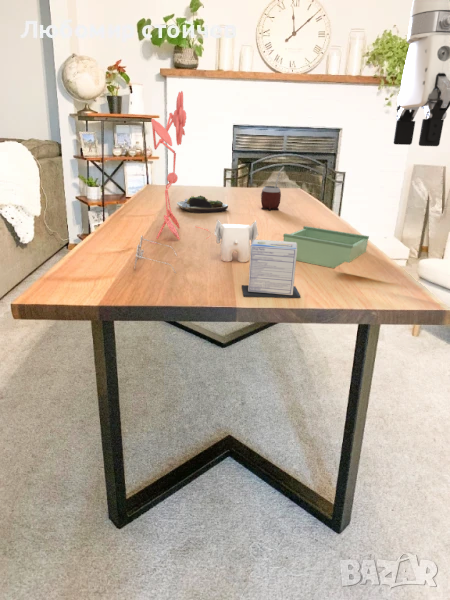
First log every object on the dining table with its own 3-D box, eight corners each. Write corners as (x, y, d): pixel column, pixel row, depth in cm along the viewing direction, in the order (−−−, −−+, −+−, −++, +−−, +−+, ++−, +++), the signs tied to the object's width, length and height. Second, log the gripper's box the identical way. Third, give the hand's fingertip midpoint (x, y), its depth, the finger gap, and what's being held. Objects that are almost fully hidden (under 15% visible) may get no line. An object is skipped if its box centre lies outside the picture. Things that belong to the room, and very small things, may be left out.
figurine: (148, 247, 106) (144, 85, 93) (160, 224, 130) (157, 93, 117) (213, 248, 107) (216, 88, 94) (212, 226, 131) (215, 96, 118)
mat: (295, 288, 82) (295, 286, 82) (300, 298, 78) (300, 295, 77) (241, 287, 82) (241, 285, 82) (243, 296, 77) (243, 294, 77)
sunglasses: (139, 254, 99) (142, 233, 98) (176, 260, 101) (179, 239, 99) (132, 273, 87) (135, 249, 85) (175, 280, 88) (179, 256, 86)
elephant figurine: (254, 251, 106) (257, 214, 102) (257, 266, 94) (259, 225, 91) (214, 249, 106) (216, 212, 102) (212, 264, 94) (213, 223, 91)
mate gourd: (259, 210, 159) (262, 166, 153) (261, 206, 166) (263, 165, 160) (280, 211, 158) (284, 168, 152) (281, 208, 165) (284, 166, 160)
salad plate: (166, 204, 163) (165, 192, 161) (210, 202, 170) (210, 190, 169) (186, 214, 147) (186, 200, 145) (233, 211, 154) (234, 198, 153)
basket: (365, 259, 102) (369, 236, 100) (348, 271, 93) (351, 245, 91) (302, 247, 111) (305, 226, 109) (281, 257, 101) (283, 234, 99)
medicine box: (293, 288, 81) (297, 241, 78) (292, 296, 77) (297, 248, 74) (250, 284, 82) (253, 238, 79) (247, 292, 78) (250, 244, 75)
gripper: (490, 18, 62) (464, 147, 68) (429, 42, 78) (413, 144, 84) (438, 16, 62) (416, 146, 68) (388, 40, 78) (374, 143, 84)
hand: (414, 145), depth 76 cm, fingers open, 9 cm apart
